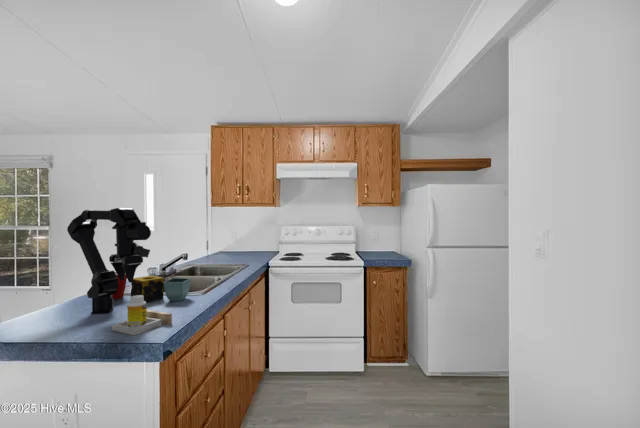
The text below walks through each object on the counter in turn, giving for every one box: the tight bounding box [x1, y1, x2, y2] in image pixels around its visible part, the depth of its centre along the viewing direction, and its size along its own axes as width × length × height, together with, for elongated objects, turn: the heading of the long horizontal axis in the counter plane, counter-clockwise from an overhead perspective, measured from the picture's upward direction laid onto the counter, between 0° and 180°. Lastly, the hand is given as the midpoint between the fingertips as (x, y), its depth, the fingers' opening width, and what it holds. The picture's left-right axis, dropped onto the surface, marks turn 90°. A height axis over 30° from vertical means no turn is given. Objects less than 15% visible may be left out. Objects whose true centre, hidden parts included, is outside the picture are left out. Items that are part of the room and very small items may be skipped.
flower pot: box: [163, 277, 192, 302], centre depth 151 cm, size 9×9×9 cm
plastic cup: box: [112, 271, 128, 301], centre depth 155 cm, size 11×11×12 cm
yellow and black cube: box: [130, 275, 165, 304], centre depth 151 cm, size 10×10×10 cm
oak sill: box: [146, 309, 173, 325], centre depth 120 cm, size 14×2×4 cm, turn 67°
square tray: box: [111, 317, 162, 336], centre depth 114 cm, size 10×10×2 cm
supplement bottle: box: [127, 295, 147, 328], centre depth 114 cm, size 6×6×10 cm
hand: (126, 281), depth 129 cm, fingers open, 9 cm apart
